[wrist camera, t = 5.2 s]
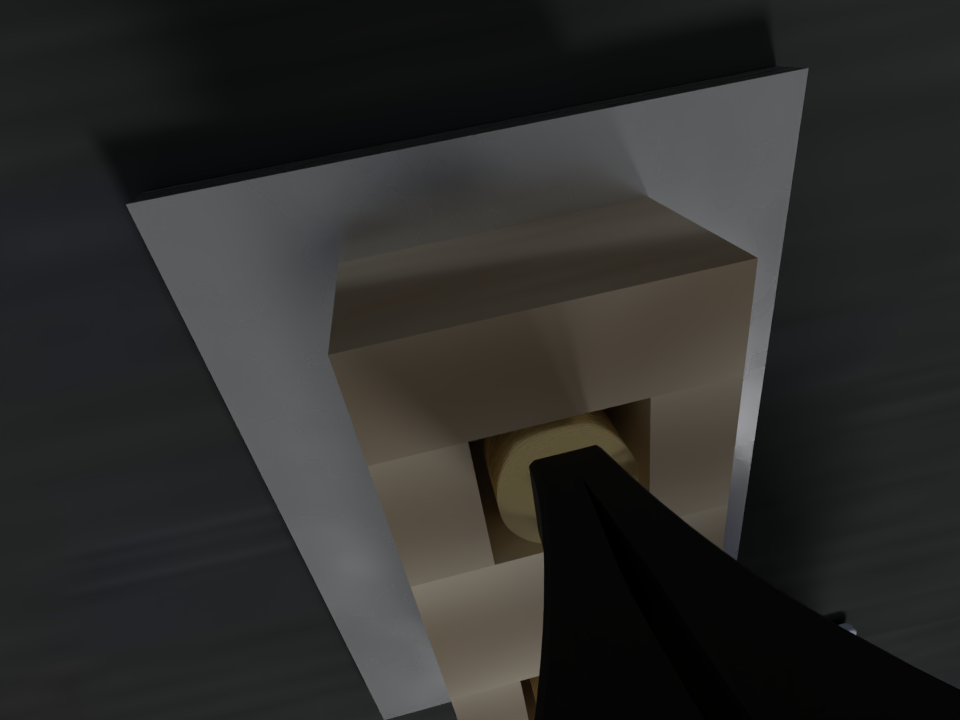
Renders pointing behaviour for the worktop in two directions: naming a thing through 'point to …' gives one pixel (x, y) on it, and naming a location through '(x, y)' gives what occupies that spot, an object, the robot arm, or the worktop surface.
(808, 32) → the worktop surface
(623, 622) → the robot arm
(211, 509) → the worktop surface
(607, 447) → the pin
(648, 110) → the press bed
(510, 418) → the housing
